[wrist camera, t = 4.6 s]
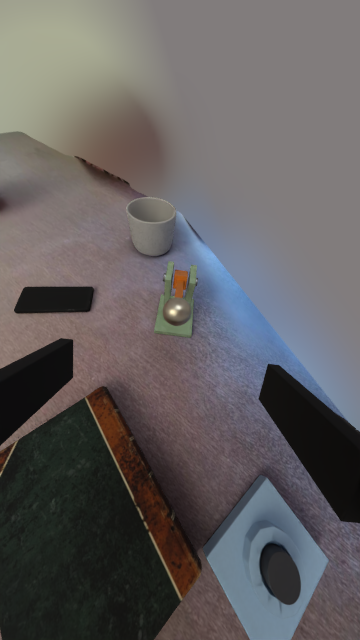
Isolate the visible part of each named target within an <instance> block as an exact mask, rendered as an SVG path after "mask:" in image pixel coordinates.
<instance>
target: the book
mask: <svg viewBox="0 0 360 640" xmlns="http://www.w3.org/2000/svg"><path fill="white" fill-rule="evenodd" d="M201 571H202V564H201V561H200V559H199V557H198V555H197V554H196V552H195V550H194V548H193V546H192V544H191V542H190V541H189V539H188V537H187V535H186V533H185V531H184V530H183V528H182V526H181V524H180V522H179V520H178V518H177V517H176V515H175V513H174V511H173V509H172V507H171V505H170V504H169V502H168V500H167V498H166V496H165V494H164V492H163V491H162V489H161V487H160V485H159V483H158V481H157V479H156V478H155V476H154V474H153V472H152V470H151V468H150V466H149V465H148V463H147V461H146V459H145V457H144V455H143V453H142V452H141V450H140V448H139V446H138V444H137V442H136V441H135V439H134V437H133V435H132V433H131V431H130V430H129V428H128V426H127V424H126V422H125V420H124V418H123V417H122V415H121V413H120V411H119V409H118V407H117V406H116V404H115V402H114V400H113V398H112V396H111V395H110V393H109V391H108V389H107V388H106V387H104V386H102V387H100V388H98V389H96V390H95V391H93V392H92V393H91V394H89V395H88V396H86V397H85V398H83V399H82V400H80V401H79V402H77V403H75V404H74V405H72V406H71V407H69V408H68V409H66V410H64V411H63V412H61V413H60V414H58V415H57V416H55V417H53V418H52V419H50V420H49V421H47V422H46V423H44V424H42V425H41V426H39V427H38V428H36V429H35V430H33V431H32V432H30V433H28V434H27V435H25V436H24V437H22V438H21V439H19V440H18V441H16V442H14V443H13V444H11V445H10V446H8V447H7V448H5V449H4V450H2V451H0V630H1V636H2V640H154V639H155V637H156V636H157V635H158V633H159V632H160V630H161V629H162V628H163V626H164V625H165V623H166V622H167V620H168V619H169V618H170V616H171V615H172V613H173V612H174V611H175V609H176V608H177V606H178V605H179V604H180V602H181V601H182V599H183V598H184V597H185V595H186V594H187V593H188V591H189V590H190V589H191V587H192V586H193V585H194V583H195V582H196V581H197V579H198V578H199V576H200V574H201Z"/></svg>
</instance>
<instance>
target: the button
mask: <svg viewBox="0 0 360 640" xmlns="http://www.w3.org/2000/svg"><path fill="white" fill-rule="evenodd" d="M260 562H261V571H262V575H263V578H264V580H265V582H266V584H267V585H268V586H269V588H270V589H271V591H272V592H273V593H274V595H275V596H276V598H277V599H278V600H279V601H280V602H282V603H283V604H286V605H292V604H294V603H295V602H296V601H297V600H298V598H299V595H300V591H301V579H300V574H299V571H298V568H297V566H296V564H295V562H294V560H293V559H292V558H291V557H290V556H289V555H288V554H287V553H286V552H285V551H284V550H283V549H282V548H281V547H280V546H278V545H276V544H268V545H267V546H265V548H264V549H263V551H262V554H261V561H260Z"/></svg>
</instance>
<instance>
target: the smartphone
mask: <svg viewBox="0 0 360 640" xmlns="http://www.w3.org/2000/svg"><path fill="white" fill-rule="evenodd" d="M93 291H94V289H93V287H25V288H24V289H23V291H22V293H21V295H20V297H19V300H18V302H17V304H16V306H15V309H14V311H15V312H16V313H48V312H88V311H89V310H90V307H91V302H92V297H93Z"/></svg>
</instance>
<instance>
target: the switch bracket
mask: <svg viewBox="0 0 360 640" xmlns="http://www.w3.org/2000/svg"><path fill="white" fill-rule="evenodd" d="M173 269H174V262H168V267H167V272H166V273H164V276H163V281H164V282H165V292H164V295H161V298H160V304H159V309H158V314H157V319H156V324H155V329H154V333H158V334H166V335H173V336H181V337H189V338H191V335H192V320H193V304H194V299H192V296H193V292H194V288H195V286H197V283H198V278H196V269H197V266H196V265H191V268H190V273H189V278H188V283H187V288H186V293H185V298H183V299H185V300H186V301H187V302H188V303H189V305H190V307H191V316H190V319H189V320H188V321H187V322H186V323H185V324H183V325H181V326H173V325H171V324H169V323H168V322H166V320H165V319H164V317H163V307H164V305H165V303H166V302H167V301H168V300H169V299H171V298H174V297H175V296H171V290H172V280H173Z"/></svg>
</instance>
